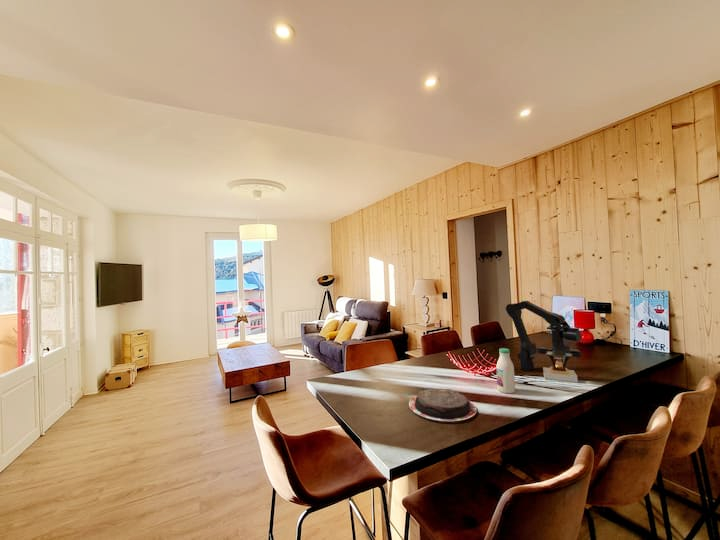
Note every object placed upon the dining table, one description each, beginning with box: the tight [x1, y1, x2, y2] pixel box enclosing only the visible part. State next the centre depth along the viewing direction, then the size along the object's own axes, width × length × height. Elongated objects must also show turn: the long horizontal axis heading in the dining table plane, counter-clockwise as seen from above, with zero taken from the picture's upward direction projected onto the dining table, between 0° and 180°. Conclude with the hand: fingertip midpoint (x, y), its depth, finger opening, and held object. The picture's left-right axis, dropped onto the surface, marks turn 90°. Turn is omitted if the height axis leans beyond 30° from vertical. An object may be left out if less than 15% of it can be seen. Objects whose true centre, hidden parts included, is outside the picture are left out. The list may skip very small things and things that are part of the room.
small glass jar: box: [553, 357, 564, 371], centre depth 154 cm, size 4×4×6 cm
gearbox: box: [542, 366, 579, 384], centre depth 154 cm, size 14×10×5 cm
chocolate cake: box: [408, 388, 477, 424], centre depth 123 cm, size 28×28×7 cm
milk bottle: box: [496, 347, 516, 394], centre depth 140 cm, size 8×8×20 cm
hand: (559, 367), depth 154 cm, fingers closed on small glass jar, 4 cm apart
